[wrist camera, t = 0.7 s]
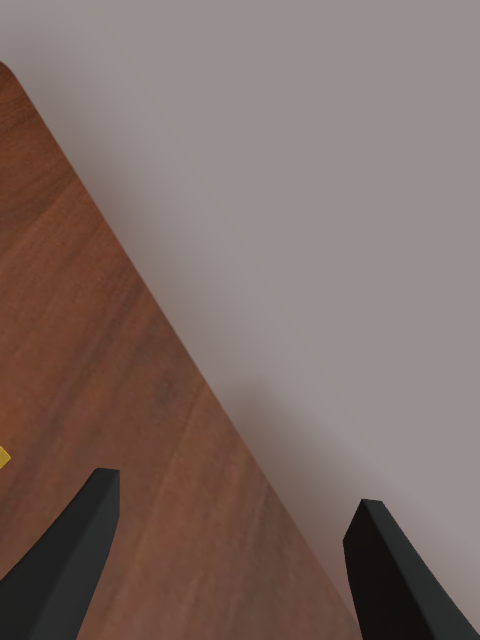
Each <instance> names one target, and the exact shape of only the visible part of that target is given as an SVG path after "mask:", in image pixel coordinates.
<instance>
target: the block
mask: <svg viewBox="0 0 480 640" xmlns="http://www.w3.org/2000/svg"><path fill="white" fill-rule="evenodd" d="M10 458H11V457H10V456H9V455H8V454H7V453H6V452H5V450H4V449H3V448H2V447H1V446H0V469H1V468H2V467H3V466H4V465H5V464H6V463H7V462H8V461H9V460H10Z"/></svg>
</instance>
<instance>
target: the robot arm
mask: <svg viewBox="0 0 480 640" xmlns="http://www.w3.org/2000/svg"><path fill="white" fill-rule="evenodd" d="M119 499H120V470H114V469H105V468H97V469H95V470H94V471H93V473H92V474H91V476H90V477H89V478H88V480H87V481H86V482H85V484H84V485H83V486H82V488H81V489H80V490H79V492H78V493H77V494H76V495H75V497H74V498H73V499H72V501H71V502H70V503H69V504H68V506H67V507H66V508H65V509H64V510H63V512H62V513H61V514H60V515H59V516H58V518H57V519H56V520H55V521H54V522H53V524H52V525H51V526H50V527H49V528H48V529H47V531H46V532H45V533H44V534H43V535H42V536H41V538H40V539H39V540H38V541H37V542H36V543H35V544H34V545H33V547H32V548H31V549H30V550H29V551H28V552H27V553H26V554H25V555H24V556H23V557H22V558H21V560H20V561H19V562H18V563H17V564H16V565H15V566H14V567H13V568H12V569H11V570H10V571H9V572H8V574H7V575H6V576H5V577H4V578H3V579H2V580H1V581H0V640H76V638H77V635H78V632H79V630H80V627H81V625H82V622H83V620H84V617H85V614H86V612H87V609H88V607H89V604H90V602H91V599H92V596H93V594H94V591H95V589H96V586H97V583H98V581H99V578H100V576H101V573H102V570H103V568H104V565H105V563H106V560H107V557H108V554H109V551H110V548H111V544H112V541H113V537H114V534H115V530H116V526H117V523H118V519H119ZM343 546H344V554H345V562H346V568H347V574H348V581H349V585H350V589H351V593H352V597H353V601H354V605H355V609H356V613H357V617H358V622H359V625H360V629H361V633H362V637H363V640H480V635H479V634H478V633H477V632H476V630H475V629H474V628H473V627H472V625H471V624H470V623H469V622H468V620H467V619H466V618H465V616H464V615H463V614H462V613H461V611H460V610H459V609H458V607H457V606H456V605H455V604H454V602H453V601H452V600H451V598H450V597H449V596H448V594H447V593H446V592H445V591H444V589H443V588H442V586H441V585H440V583H439V582H438V581H437V579H436V578H435V577H434V575H433V574H432V573H431V571H430V570H429V569H428V567H427V566H426V564H425V563H424V561H423V560H422V559H421V557H420V556H419V555H418V553H417V551H416V550H415V549H414V547H413V546H412V544H411V543H410V542H409V540H408V539H407V537H406V536H405V534H404V533H403V531H402V530H401V528H400V527H399V526H398V524H397V523H396V521H395V520H394V518H393V517H392V516H391V514H390V512H389V511H388V509H387V508H386V507H385V505H384V504H383V502H382V501H377V500H368V499H362V500H361V502H360V504H359V506H358V508H357V511H356V513H355V515H354V517H353V519H352V521H351V524H350V526H349V528H348V530H347V532H346V535H345V537H344V539H343Z"/></svg>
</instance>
